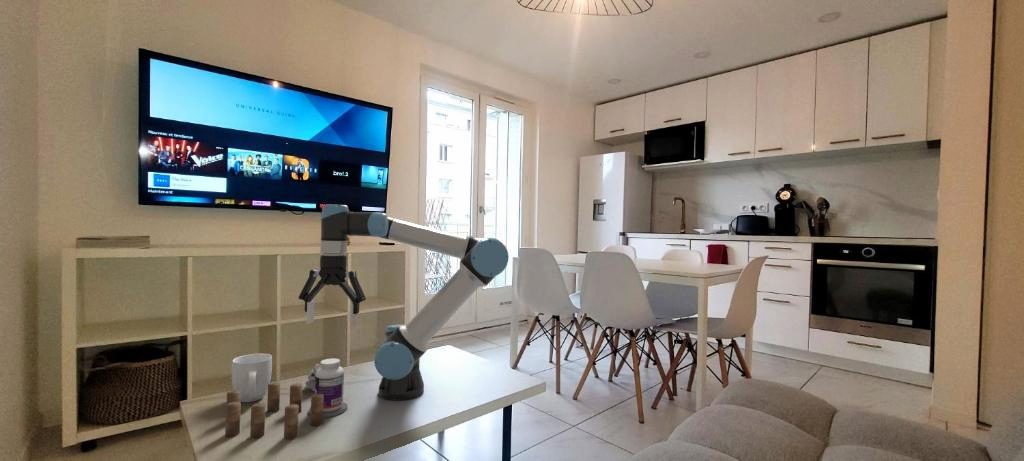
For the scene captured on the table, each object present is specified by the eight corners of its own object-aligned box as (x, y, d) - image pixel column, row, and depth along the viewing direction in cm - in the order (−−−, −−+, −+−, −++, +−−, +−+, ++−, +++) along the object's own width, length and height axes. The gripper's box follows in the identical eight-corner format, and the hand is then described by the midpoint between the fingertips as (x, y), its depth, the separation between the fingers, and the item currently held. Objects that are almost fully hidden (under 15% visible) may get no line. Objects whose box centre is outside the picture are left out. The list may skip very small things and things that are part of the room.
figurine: (316, 366, 136) (325, 349, 148) (296, 387, 136) (307, 369, 148) (337, 380, 138) (344, 362, 150) (317, 401, 138) (326, 382, 150)
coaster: (353, 403, 130) (353, 401, 130) (336, 419, 119) (336, 417, 119) (320, 401, 130) (320, 399, 130) (300, 416, 119) (300, 414, 119)
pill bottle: (320, 402, 128) (321, 357, 128) (346, 402, 129) (347, 357, 129) (309, 413, 120) (311, 365, 120) (337, 413, 121) (339, 365, 121)
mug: (272, 405, 127) (274, 363, 127) (229, 413, 121) (231, 369, 121) (269, 389, 139) (271, 351, 139) (231, 396, 133) (232, 356, 133)
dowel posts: (336, 411, 123) (337, 385, 124) (300, 442, 105) (301, 411, 105) (250, 406, 126) (251, 380, 126) (200, 435, 107) (201, 404, 108)
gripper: (377, 255, 128) (375, 322, 128) (302, 253, 130) (300, 319, 130) (367, 256, 121) (365, 328, 120) (287, 254, 122) (285, 324, 122)
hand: (331, 323), depth 125 cm, fingers open, 13 cm apart
